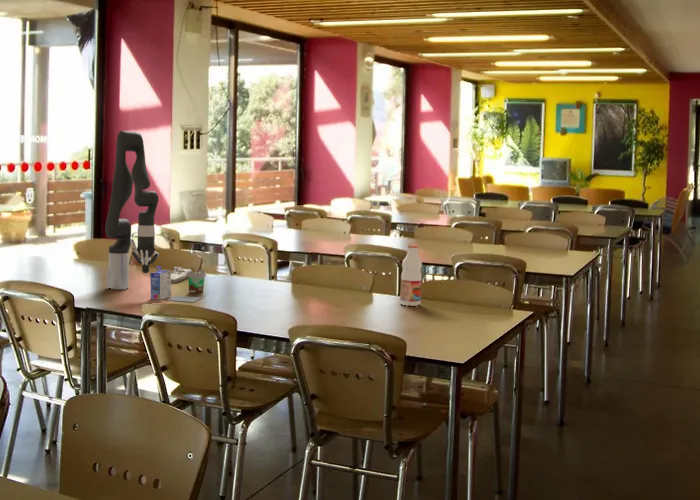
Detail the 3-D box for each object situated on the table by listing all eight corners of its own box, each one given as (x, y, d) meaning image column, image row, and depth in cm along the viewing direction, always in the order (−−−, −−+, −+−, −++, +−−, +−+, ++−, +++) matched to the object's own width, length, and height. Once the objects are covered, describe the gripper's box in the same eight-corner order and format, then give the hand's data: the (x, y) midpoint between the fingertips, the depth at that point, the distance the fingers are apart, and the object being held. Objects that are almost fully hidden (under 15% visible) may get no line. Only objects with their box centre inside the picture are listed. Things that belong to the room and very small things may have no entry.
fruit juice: (402, 302, 423) (405, 243, 420) (422, 304, 420) (425, 244, 417) (397, 305, 414) (400, 245, 411) (417, 307, 411) (420, 246, 408)
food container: (200, 295, 421) (200, 274, 420) (187, 294, 422) (188, 273, 421) (209, 291, 433) (209, 270, 432) (197, 290, 434) (197, 269, 433)
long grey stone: (158, 286, 451) (178, 288, 451) (159, 276, 451) (179, 278, 450) (177, 272, 486) (195, 274, 485) (177, 263, 485) (196, 264, 484)
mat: (165, 300, 404) (165, 300, 404) (176, 296, 417) (176, 295, 417) (193, 302, 402) (193, 301, 402) (203, 297, 414) (203, 297, 414)
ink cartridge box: (161, 295, 416) (161, 264, 414) (171, 297, 414) (172, 265, 412) (149, 299, 406) (150, 267, 405) (160, 300, 404) (160, 268, 403)
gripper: (128, 235, 405) (128, 273, 407) (156, 236, 403) (156, 275, 405) (135, 233, 413) (135, 271, 415) (163, 235, 410) (162, 272, 412)
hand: (145, 272), depth 410 cm, fingers closed
